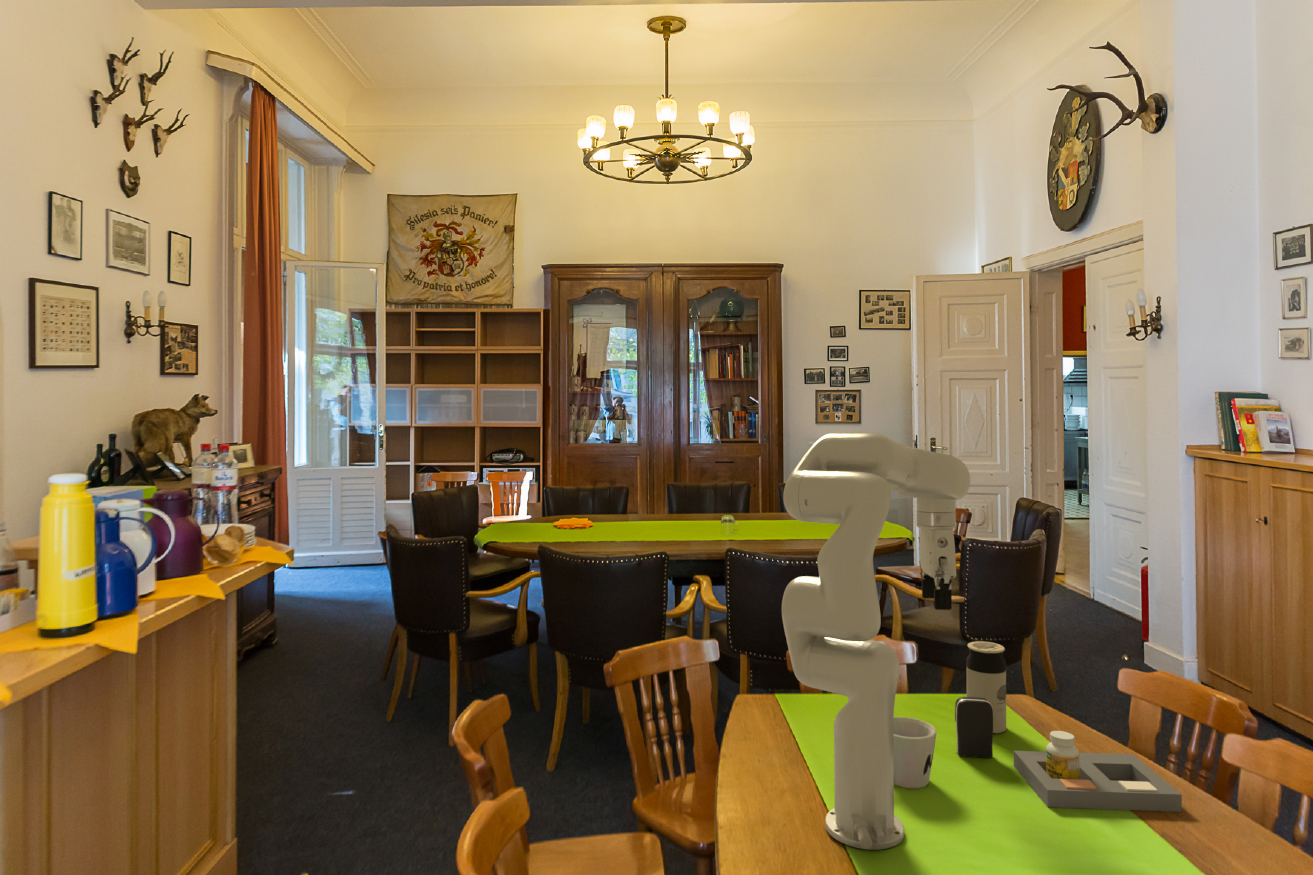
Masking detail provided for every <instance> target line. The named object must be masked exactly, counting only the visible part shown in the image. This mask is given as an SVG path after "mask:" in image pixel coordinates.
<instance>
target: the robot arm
mask: <svg viewBox="0 0 1313 875" xmlns="http://www.w3.org/2000/svg"><path fill="white" fill-rule="evenodd" d="M970 486H971V474H970V472H969V469H968V467H967V465H966V463H964V462H963V461H962V460H961V459H959V458H958V457H956V456H953V455H950V454H946V453H943V452H942V453H940V452H936V451H930V450H925V449H921V448H916V447H911V446H907V445H903V444H901V443H899V442H897V441H896V440H894V439H891V438H889V437H887V436H885V435H883V434H879V433H871V432H870V433H869V432H866V433H864V432H853V433H851V432H850V433H848V432H846V433H842V432H840V433H839V432H838V433H837V432H836V433H835V432H834V433H827V434H825V435H823V436H821V437H820V438H818V439H817V440H816V441H815V442H814V443H813V444H812V445H811V446H810V447H809V448H808V450H807V451H806V452H805V454H804V455H803V457H801V459H800V460H799V462H798V463H797V465H796V466H795V468H794V469H793V470H792V471H791V473H790V474H789V476H788V478H787V480H786V483H785V485H784V489H783V496H782V498H783V505H784V508H785V510H786V512H787V514H788V515H789V516H791V518H792V519H795V520H797V521H800V522H805V523H806V522H807V523H816V524H817V523H818V524H831V525H832V524H833V525H839V526H838V527H837V528H836V530H835V531H834V532H833V533H832V535H831V536H829V538H828V539H827V540H826V541H825V542H824V544H823V545H822V547H821V549H820V550H819V552H818V555H817V559H816V560H817V561H816V562H817V569H818V576H810V575H805V576H803V575H801V576H798V577H795V578H794V579H792V580H791V581H790V582H789V583H788V584H787V585H786V587H785V589H784V592H783V596H782V600H781V619H782V624H783V630H784V635H785V638H786V644H787V648H788V653H789V654H788V655H789V657H790V662H791V666H792V670H793V674H794V675H795V677H796V679H797V680H798V682H800V683H801V684H802V685H804V686H805V687H808V688H813V689H816V690H820V691H824V692H829V693H832V694H833V693H834V694H838V695H841V696H845V697H847V699H848V701H847V702H846V703H845V705H844V706H842V708H841V709H840V710H838V712H837V713H836V716H835V719H834V720H833V722H834V723H833V751H834V752H833V758H834V760H833V763H834V764H833V766H834V767H833V768H834V769H833V770H834V771H833V773H834V774H833V775H834V779H833V780H834V781H833V782H834V786H833V787H834V808H832V809H830V810H829V811H828V812H827V814H826V815H825V817H824V823H825V826H824V827H825V829H826V832H828V834H829V835H830V836H831V837H832V838H834V839H835V840H836V841H838V842H840V843H841V844H844V845H846V846H848V847H853V848H857V849H861V850H869V851H872V850H873V851H878V850H879V851H880V850H886V849H890V848H893V847H895V846H897V845H898V844H900V843H901V842H902V841H903V840H904V838H905V826H904V823H903V822H902V821H901V819H899V818H898V816H896V815H895V784H894V739H893V723H894V717H895V716H894V714H895V702H896V694H897V689H898V683H899V677H900V676H899V675H900V662H899V657H898V656H897V654H896V652H895V651H894V650H893V649H892V648H891V647H890V646H889V645H887V644H885V643H883V642H880V641H878V640H874V638H875V637H876V636H877V634H879V632H880V629H881V623H882V622H881V610H880V609H881V608H880V600H879V594H878V587H877V582H876V577H875V571H874V570H875V568H874V553H875V549H876V546H877V544H878V542H879V538H880V535H881V533H882V530H883V528H884V525H885V523H886V520H887V516H888V514H889V510H890V507H891V502H892V492H895V493H896V494H898V495H899V496H901V497H903V498H910V499H916V501H915V503H916V506H915V508H916V514H915V515H916V516H915V517H916V518H915V519H916V522H915V524H916V527H917V528H920V540H919V552H920V553H919V554H920V555H919V556H920V558H919V559H920V561H919V562H920V568H921V570H922V573H921V577H922V579H921V597H922V598H923V599H933V600H934V601H933V604H934V607H933V608H934V609H935V610H937V611H940V610H942V611H945V610H947V611H950V610H952V598H953V597H952V589H953V588H952V579H955V578H956V577H957V564H956V563H957V562H956V545H955V536H954V530H953V529H956V528H957V526H956V523H957V522H956V521H957V518H956V514H957V513H956V507H957V506H956V505H957V504H956V500H961V499H963V498H964V497H965V496H966V495H967V493H968V491H969V490H970Z"/></svg>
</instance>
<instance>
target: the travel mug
mask: <svg viewBox="0 0 1313 875" xmlns="http://www.w3.org/2000/svg"><path fill="white" fill-rule="evenodd" d="M967 647H968V650H969V654H968V656H967V657H966V660H965V661H966V697H979V698H985V699H986V700H987V701H988V702H989V703H990V704H991V705H992V708H993V733H996V734H1000V733H1003V732H1006V730H1007V661H1006V660H1005V659H1004V657H1003V655H1004V651H1006V648H1005V647H1004V646H1003V645H1001V644H998V643H995V642H991V641H971V642H968V643H967Z"/></svg>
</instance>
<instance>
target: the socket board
mask: <svg viewBox="0 0 1313 875" xmlns="http://www.w3.org/2000/svg"><path fill="white" fill-rule="evenodd" d="M1013 767H1014V768H1015V769H1016V771H1017V772H1018V774H1020V776H1021V777H1022V778H1023V779H1024V780H1025V781H1026V783H1027V784H1028V785H1029V787H1031V789H1032V790H1033V791H1034V792H1035V794H1036V795H1037V796H1038V797H1039V799H1040V800H1041V801H1042V802H1043V804H1045V806H1046V807H1047V808H1060V809H1061V808H1063V809H1064V808H1065V809H1067V808H1068V809H1088V810H1089V809H1090V810H1091V809H1093V810H1115V811H1117V810H1118V811H1119V810H1120V811H1121V810H1123V811H1143V812H1145V811H1150V812H1175V813H1177V812H1179V813H1181V812H1183V807H1182V806H1183V803H1182V802H1183V799H1182V798H1183V797H1182V796H1183V794H1182V793H1180V791H1178V790H1177V789H1176V788H1174V787H1173V786H1172V785H1171V784H1170V783H1169V782H1168V781H1166V780H1165V779H1164V778H1162V777H1161V776H1160V775H1159V774H1158V773H1156V772H1155V771H1154V770H1153V769H1151V768H1150V767H1149V766H1147V765H1146V764H1145V763H1144V762H1143V761H1142V760H1140V759H1139V758H1138V757H1137V756H1135V755H1134V754H1133V753H1112V752H1110V753H1108V752H1107V753H1106V752H1105V753H1103V752H1102V753H1101V752H1079V779H1052V778H1051V777H1050V776H1049V775H1048V774H1047V773H1046V751H1043V750H1042V751H1039V750H1038V751H1035V750H1033V751H1032V750H1013Z"/></svg>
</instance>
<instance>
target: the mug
mask: <svg viewBox="0 0 1313 875" xmlns="http://www.w3.org/2000/svg"><path fill="white" fill-rule="evenodd" d="M893 739H894V786H898V787H901V788H904V789H923V788H924V787H926V786H928V784H929V783H930V777H931V771H932V765H933V760H934V752H935V745H936V740H937V729H936V728H935V726H934V725H932V724H931V723H929V722H927V721H924V720H922V719H917V718H913V717H907V716H906V717H905V716H894V723H893Z"/></svg>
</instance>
